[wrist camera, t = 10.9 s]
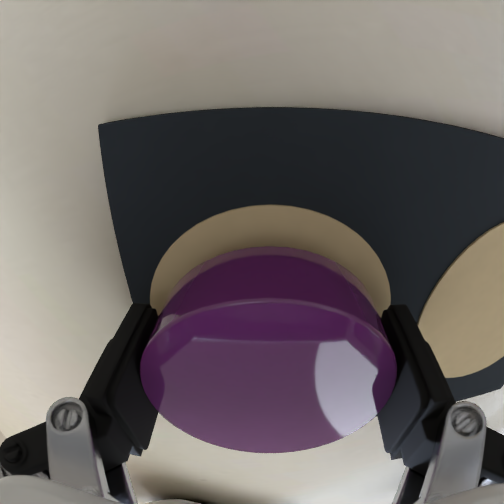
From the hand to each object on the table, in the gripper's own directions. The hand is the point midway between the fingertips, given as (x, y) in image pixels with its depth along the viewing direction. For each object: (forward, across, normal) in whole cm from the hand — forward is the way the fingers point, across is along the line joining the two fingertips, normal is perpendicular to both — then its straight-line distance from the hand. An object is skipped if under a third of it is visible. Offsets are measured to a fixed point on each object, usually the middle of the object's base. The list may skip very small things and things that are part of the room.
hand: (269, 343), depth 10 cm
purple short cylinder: (+1, 0, 0) cm, 1 cm away
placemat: (+1, -5, 0) cm, 5 cm away
